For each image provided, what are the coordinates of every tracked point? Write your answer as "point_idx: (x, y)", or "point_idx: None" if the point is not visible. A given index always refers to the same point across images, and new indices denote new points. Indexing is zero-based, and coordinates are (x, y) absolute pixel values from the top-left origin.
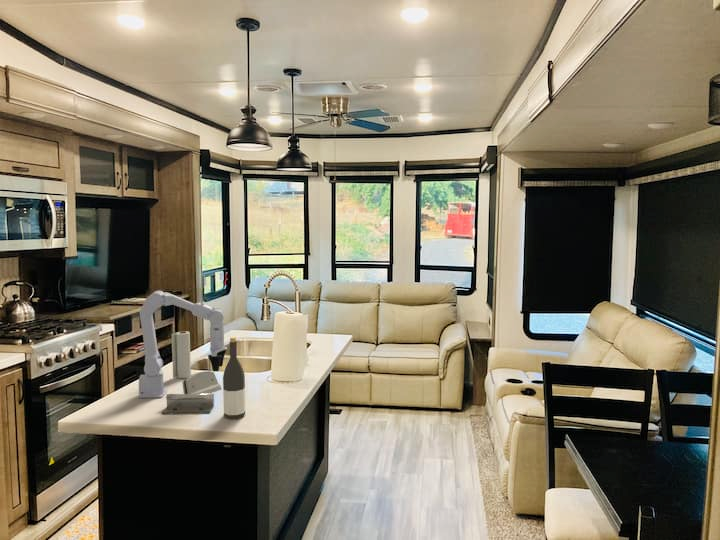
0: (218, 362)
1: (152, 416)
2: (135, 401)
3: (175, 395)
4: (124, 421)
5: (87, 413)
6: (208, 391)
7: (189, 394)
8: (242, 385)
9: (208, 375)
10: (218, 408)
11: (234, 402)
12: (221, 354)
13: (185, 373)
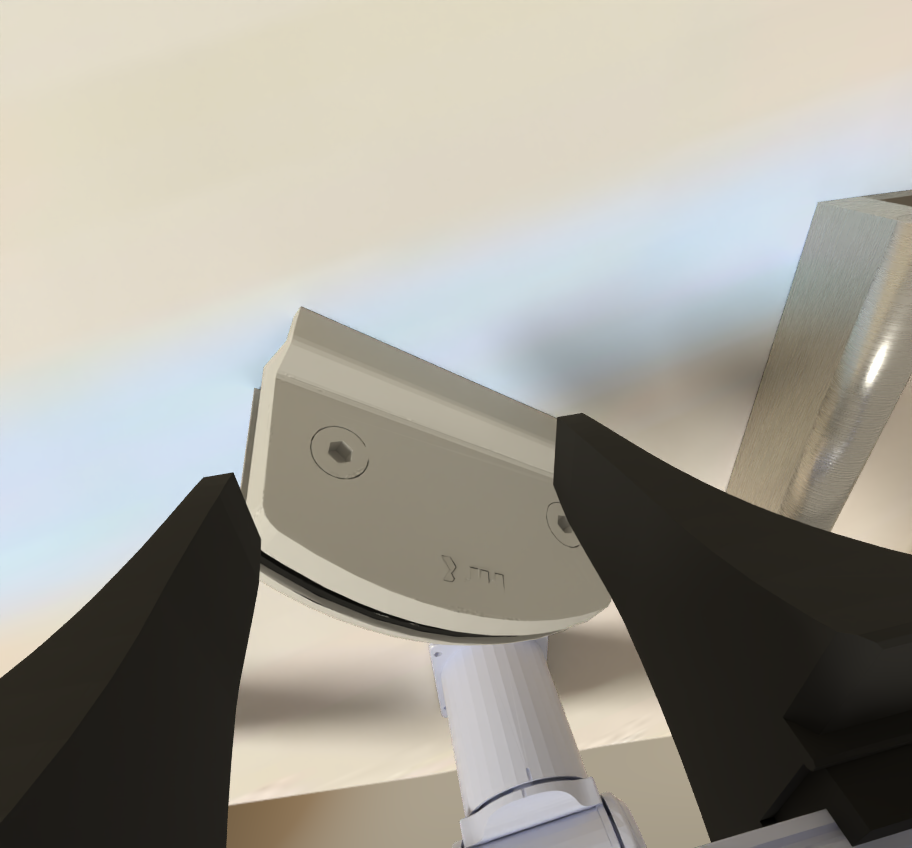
0: (751, 517)
1: (846, 515)
2: (588, 672)
3: (830, 530)
4: None
5: None
6: (462, 393)
7: (870, 449)
8: None
9: (368, 522)
10: (901, 132)
11: None
12: (143, 757)
13: None
